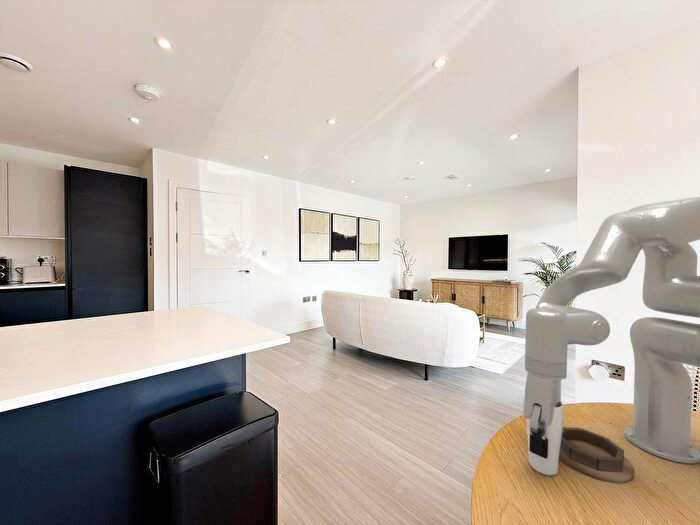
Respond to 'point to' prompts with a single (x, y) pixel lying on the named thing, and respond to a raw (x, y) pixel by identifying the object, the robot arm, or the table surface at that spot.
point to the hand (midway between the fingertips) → (543, 446)
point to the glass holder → (594, 456)
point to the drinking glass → (554, 442)
